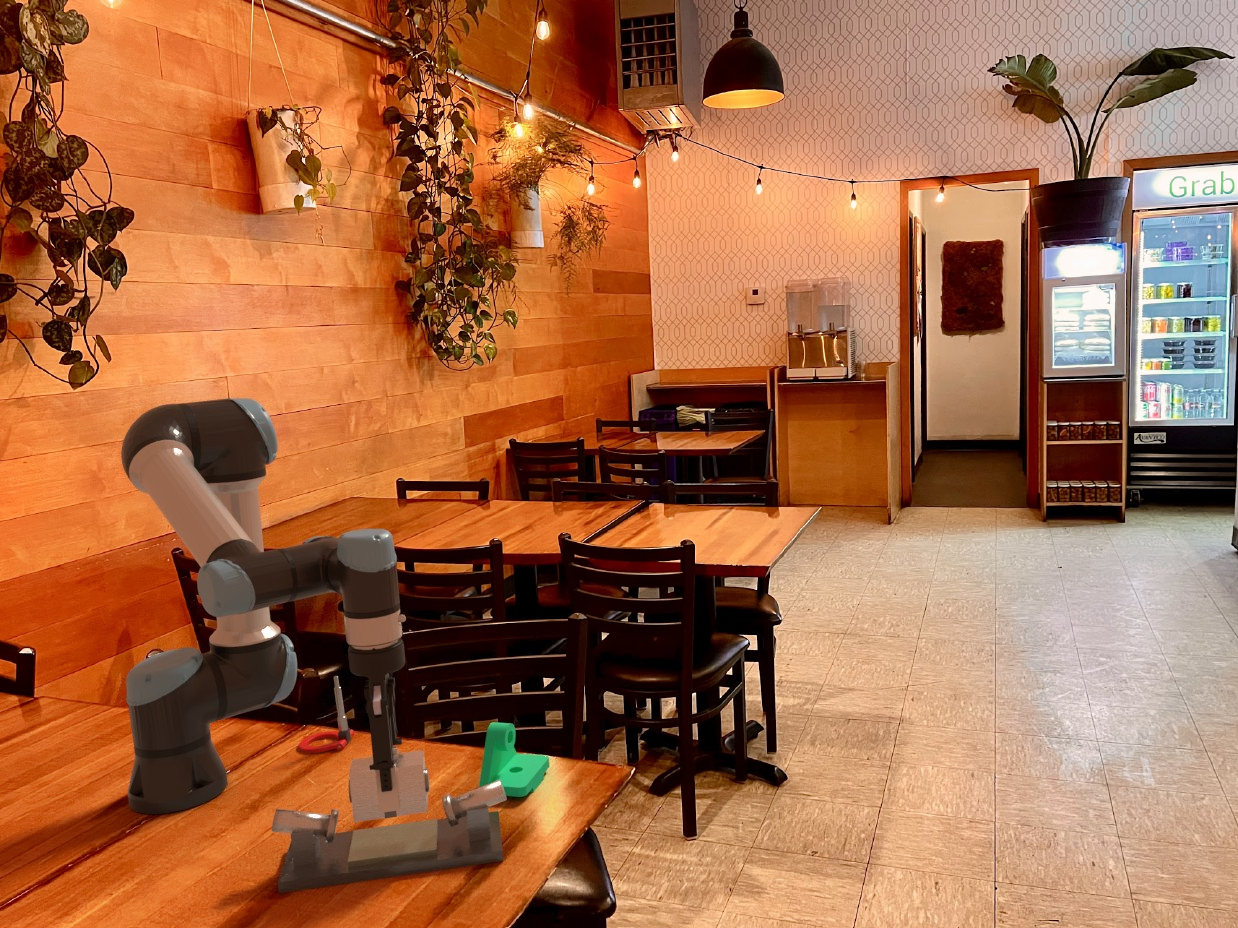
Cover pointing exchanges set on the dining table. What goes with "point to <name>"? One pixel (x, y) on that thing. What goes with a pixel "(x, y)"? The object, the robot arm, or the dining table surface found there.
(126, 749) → the dining table surface
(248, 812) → the dining table surface
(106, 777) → the dining table surface
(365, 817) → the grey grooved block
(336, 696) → the tow hook
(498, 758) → the camera mount
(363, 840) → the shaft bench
